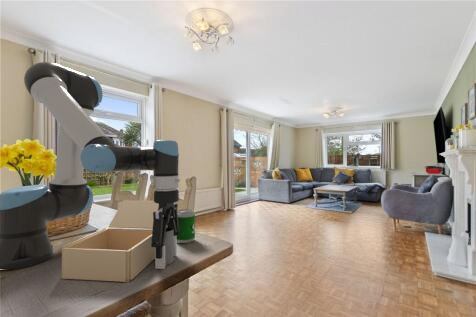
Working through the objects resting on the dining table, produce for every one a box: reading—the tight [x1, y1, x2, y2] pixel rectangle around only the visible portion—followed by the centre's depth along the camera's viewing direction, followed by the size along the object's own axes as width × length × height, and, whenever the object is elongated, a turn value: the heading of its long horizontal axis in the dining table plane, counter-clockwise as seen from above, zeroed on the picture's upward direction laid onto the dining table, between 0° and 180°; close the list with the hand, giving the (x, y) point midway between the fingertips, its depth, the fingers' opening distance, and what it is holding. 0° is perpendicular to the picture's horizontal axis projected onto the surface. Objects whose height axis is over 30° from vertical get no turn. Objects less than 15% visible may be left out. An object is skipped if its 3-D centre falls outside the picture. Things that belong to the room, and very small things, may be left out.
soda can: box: [176, 208, 196, 244], centre depth 93 cm, size 8×8×12 cm
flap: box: [108, 199, 159, 230], centre depth 86 cm, size 18×1×12 cm
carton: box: [61, 227, 155, 283], centre depth 72 cm, size 20×20×8 cm
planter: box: [164, 227, 175, 266], centre depth 74 cm, size 4×4×10 cm
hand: (166, 261), depth 74 cm, fingers open, 9 cm apart
